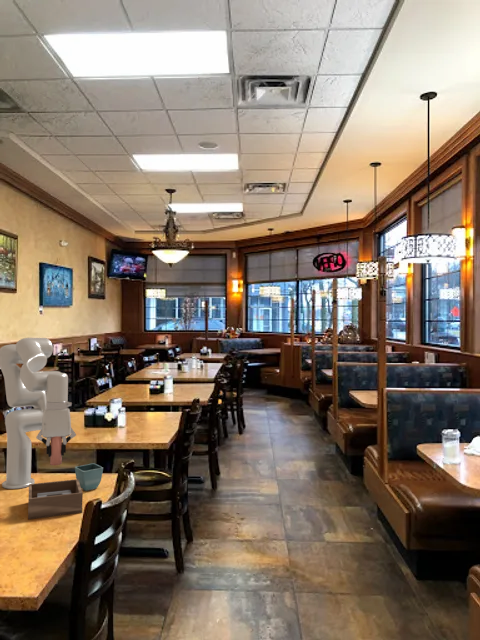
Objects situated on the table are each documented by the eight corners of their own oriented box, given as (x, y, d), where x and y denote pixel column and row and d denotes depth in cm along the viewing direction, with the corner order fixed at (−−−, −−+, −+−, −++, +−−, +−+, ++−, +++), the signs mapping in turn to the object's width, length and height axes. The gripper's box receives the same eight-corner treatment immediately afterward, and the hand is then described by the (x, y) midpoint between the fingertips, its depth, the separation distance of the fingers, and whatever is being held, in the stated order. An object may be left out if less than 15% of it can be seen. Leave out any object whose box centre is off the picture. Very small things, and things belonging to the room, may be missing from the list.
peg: (50, 463, 183) (50, 430, 184) (61, 462, 185) (61, 430, 185) (50, 465, 179) (50, 432, 180) (61, 464, 181) (62, 432, 181)
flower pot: (82, 493, 198) (83, 471, 198) (73, 488, 204) (74, 466, 205) (103, 489, 204) (103, 467, 204) (93, 484, 210) (94, 463, 210)
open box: (28, 502, 187) (28, 484, 187) (77, 496, 194) (78, 479, 194) (28, 519, 170) (28, 499, 170) (82, 512, 177) (82, 493, 177)
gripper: (79, 403, 190) (78, 451, 189) (32, 405, 183) (31, 455, 182) (81, 406, 183) (80, 455, 182) (32, 408, 176) (31, 459, 175)
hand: (56, 454), depth 182 cm, fingers closed on peg, 4 cm apart
